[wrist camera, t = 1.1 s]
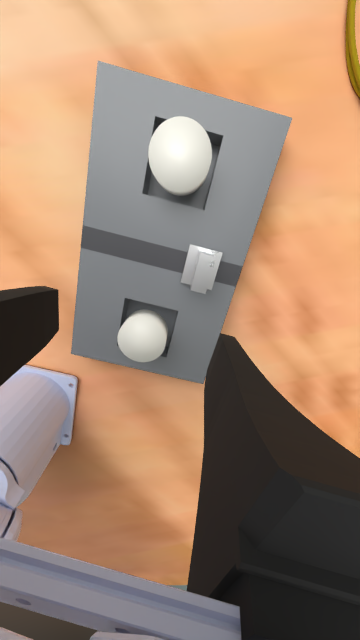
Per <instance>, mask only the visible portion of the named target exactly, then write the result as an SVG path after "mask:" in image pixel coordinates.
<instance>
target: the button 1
mask: <svg viewBox="0 0 360 640" xmlns="http://www.w3.org/2000/svg"><path fill="white" fill-rule="evenodd" d="M167 335H168V327H167V324H166V322H165V320H164V319H163V318H162V317H161V316H160V315H159V314H158V313H156V312H154V311H151V310H138V311H136V312H134V313H132V314H131V315H130V316H129V317H128V318H127V319H126V321H125V322H124V324H123V325H122V327H121V328H120V330H119V332H118V337H117V341H118V345H119V348H120V350H121V351H122V352H123V354H124V355H125V356H127V357H128V358H130V359H131V360H134V361H137V362H150V361H153V360H155V359H156V358H158V357H159V356H160V355H161V354H162V353H163V351H164V349H165V345H166V340H167Z"/></svg>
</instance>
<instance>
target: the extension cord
mask: <svg viewBox="0 0 360 640" xmlns="http://www.w3.org/2000/svg"><path fill="white" fill-rule="evenodd" d="M355 5H356V0H348V4H347V20H346V61H347V68H348V73H349V77H350V80H351V83H352V85H353V88H354V90H355V92H356V94H357V95H358V96H359V98H360V65H359V61H358V55H357V49H356V40H355Z"/></svg>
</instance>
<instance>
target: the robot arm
mask: <svg viewBox="0 0 360 640" xmlns="http://www.w3.org/2000/svg"><path fill="white" fill-rule="evenodd" d="M58 330H59V308H58V290H57V289H53V288H49V287H46V286H35V287H25V288H17V289H9V290H2V291H0V601H1V602H4V603H7V604H11V605H14V606H17V607H21V608H24V609H27V610H31V611H34V612H38V613H41V614H45V615H48V616H51V617H55V618H58V619H61V620H65V621H68V622H71V623H75V624H78V625H81V626H85V627H88V628H92V629H95V630H98V631H102V632H96V633H95V634H94V635H93V636H91V637H90V640H360V458H358V457H357V456H356V455H354V454H353V453H351V452H350V451H349V450H347V449H346V448H345V447H343V446H342V445H340V444H339V443H338V442H336V441H335V440H334V439H332V438H331V437H330V436H328V435H327V434H326V433H324V432H323V431H322V430H321V429H319V428H318V427H317V426H316V425H314V424H313V423H312V422H311V421H310V420H308V419H307V418H306V417H305V416H304V415H302V414H301V413H300V412H299V411H298V410H297V409H296V408H295V407H293V406H292V405H291V404H290V403H289V402H288V401H287V400H286V399H285V398H284V397H283V396H282V395H281V394H280V393H279V392H278V391H277V390H276V389H275V388H274V387H273V386H272V385H271V384H270V382H269V381H268V380H267V379H266V378H265V377H264V375H263V374H262V373H261V372H260V371H259V369H258V368H257V367H256V366H255V364H254V363H253V362H252V361H251V359H250V358H249V356H248V355H247V354H246V352H245V351H244V350H243V348H242V347H241V345H240V344H239V343H238V341H237V340H236V339H235V337H232V336H229V335H225V334H221V333H220V335H219V338H218V340H217V343H216V346H215V349H214V352H213V354H212V357H211V360H210V363H209V366H208V369H207V373H206V380H205V388H204V453H203V463H202V473H201V483H200V492H199V501H198V509H197V517H196V525H195V534H194V542H193V549H192V556H191V564H190V571H189V578H188V585H187V591H184V590H181V589H177V588H174V587H171V586H167V585H164V584H160V583H157V582H153V581H150V580H147V579H143V578H140V577H136V576H133V575H129V574H126V573H122V572H119V571H116V570H112V569H109V568H105V567H102V566H98V565H95V564H92V563H88V562H85V561H81V560H78V559H74V558H71V557H68V556H64V555H61V554H57V553H54V552H50V551H47V550H44V549H40V548H37V547H33V546H30V545H26V544H23V543H19V542H17V539H18V537H19V534H20V531H21V526H22V515H23V513H22V511H21V510H20V509H18V508H16V507H18V506H19V505H20V504H21V503H22V502H23V501H24V500H25V499H26V498H27V497H28V496H29V495H30V493H31V492H32V490H33V489H34V487H35V485H36V484H37V482H38V480H39V479H40V477H41V475H42V474H43V472H44V470H45V469H46V467H47V465H48V464H49V462H50V460H51V459H52V457H53V455H54V454H55V452H56V450H57V449H58V447H59V445H60V444H62V445H69V444H70V442H71V439H72V429H73V420H74V411H75V402H76V392H77V383H78V379H77V377H75V376H73V375H69V374H64V373H60V372H55V371H51V370H46V369H42V368H37V367H33V366H28V365H25V364H26V363H27V362H29V361H30V360H31V359H32V358H33V357H34V356H35V355H36V354H38V353H39V352H40V351H41V350H42V349H43V348H44V347H45V346H46V345H47V344H48V343H49V341H50V340H51V339H52V338H53V337H54V335H55V334H56V333H57V332H58ZM70 383H71V384H73V385H71V384H70ZM0 640H33V639H30V638H27V637H25V636H22V635H20V634H17V633H15V632H12V631H10V630H7V629H4V628H2V627H0Z"/></svg>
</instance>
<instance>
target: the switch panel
mask: <svg viewBox="0 0 360 640" xmlns="http://www.w3.org/2000/svg"><path fill="white" fill-rule="evenodd" d="M177 116H184V117H188V118H191V119H193V120H195V121H196V122H198V123H199V124H200V125H201V126H202V127H203V128H204V130H205V131H206V133H207V135H208V137H209V139H210V143H211V148H212V160H211V165H210V168H209V171H208V174H207V177H206V179H205V181H204V183H203V184H202V185H201V187H200V188H199V189H197V190H196V191H195V192H193V193H191V194H189V195H185V196H177V195H173V194H171V193H169V192H167V191H166V190H164V189H163V188H162V187H161V185H160V184H159V183H158V181H157V179H156V178H155V176H154V175H153V173H152V171H151V168H150V164H149V158H148V150H149V144H150V141H151V138H152V136H153V134H154V132H155V130H156V129H157V128H158V127H159V125H161V124H162V123H163V122H164V121H166V120H168V119H170V118H173V117H177ZM291 120H292V118H291V117H287V116H284V115H280V114H277V113H274V112H270V111H267V110H263V109H260V108H257V107H253V106H250V105H247V104H243V103H240V102H236V101H233V100H230V99H226V98H223V97H219V96H216V95H213V94H209V93H206V92H202V91H199V90H196V89H192V88H189V87H185V86H182V85H179V84H175V83H172V82H169V81H165V80H162V79H158V78H155V77H152V76H148V75H145V74H141V73H138V72H135V71H131V70H128V69H124V68H121V67H118V66H114V65H111V64H108V63H104V62H101V61H98V65H97V76H96V87H95V98H94V109H93V120H92V131H91V142H90V153H89V164H88V175H87V186H86V197H85V207H84V218H83V229H82V240H81V251H80V262H79V273H78V284H77V295H76V306H75V317H74V328H73V339H72V350H71V354H74V355H78V356H83V357H87V358H92V359H96V360H100V361H105V362H109V363H113V364H118V365H122V366H127V367H131V368H135V369H140V370H144V371H148V372H153V373H157V374H162V375H166V376H170V377H175V378H179V379H184V380H188V381H192V382H197V383H201V384H203V383H204V380H205V377H206V373H207V369H208V366H209V363H210V360H211V357H212V354H213V352H214V349H215V346H216V343H217V340H218V338H219V335H220V332H221V329H222V326H223V323H224V320H225V317H226V314H227V311H228V308H229V305H230V302H231V299H232V296H233V293H234V290H235V287H236V284H237V281H238V279H239V276H240V273H241V270H242V267H243V264H244V261H245V258H246V255H247V252H248V249H249V246H250V243H251V240H252V237H253V234H254V231H255V228H256V225H257V222H258V219H259V216H260V213H261V210H262V207H263V204H264V201H265V198H266V195H267V192H268V189H269V186H270V183H271V180H272V177H273V174H274V171H275V168H276V165H277V162H278V159H279V156H280V153H281V150H282V147H283V144H284V141H285V138H286V135H287V132H288V129H289V126H290V123H291ZM190 244H191V245H195V246H199V247H203V248H207V249H211V250H214V251H218V252H222V257H221V260H220V263H219V267H218V270H217V273H216V277H215V280H214V283H213V287H212V290H209V289H207V291H206V294H203V293H199V292H195V291H191V287H190V285H189V284H185V283H181V279H182V275H183V271H184V267H185V262H186V258H187V254H188V250H189V246H190ZM138 310H151V311H154V312H156V313H158V314H159V315H160V316H161V317H162V318H163V319H164V320H165V322H166V324H167V327H168V335H167V340H166V345H165V349H164V351H163V353H162V354H161V355H160V356H159V357H158V358H156V359H155V360H153V361H150V362H137V361H134V360H131V359H130V358H128V357H127V356H125V355H124V354H123V352H122V351H121V350H120V348H119V345H118V341H117V337H118V332H119V330H120V328H121V327H122V325H123V324H124V322H125V321H126V319H127V318H128V317H129V316H130V315H131V314H132V313H134V312H136V311H138Z"/></svg>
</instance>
